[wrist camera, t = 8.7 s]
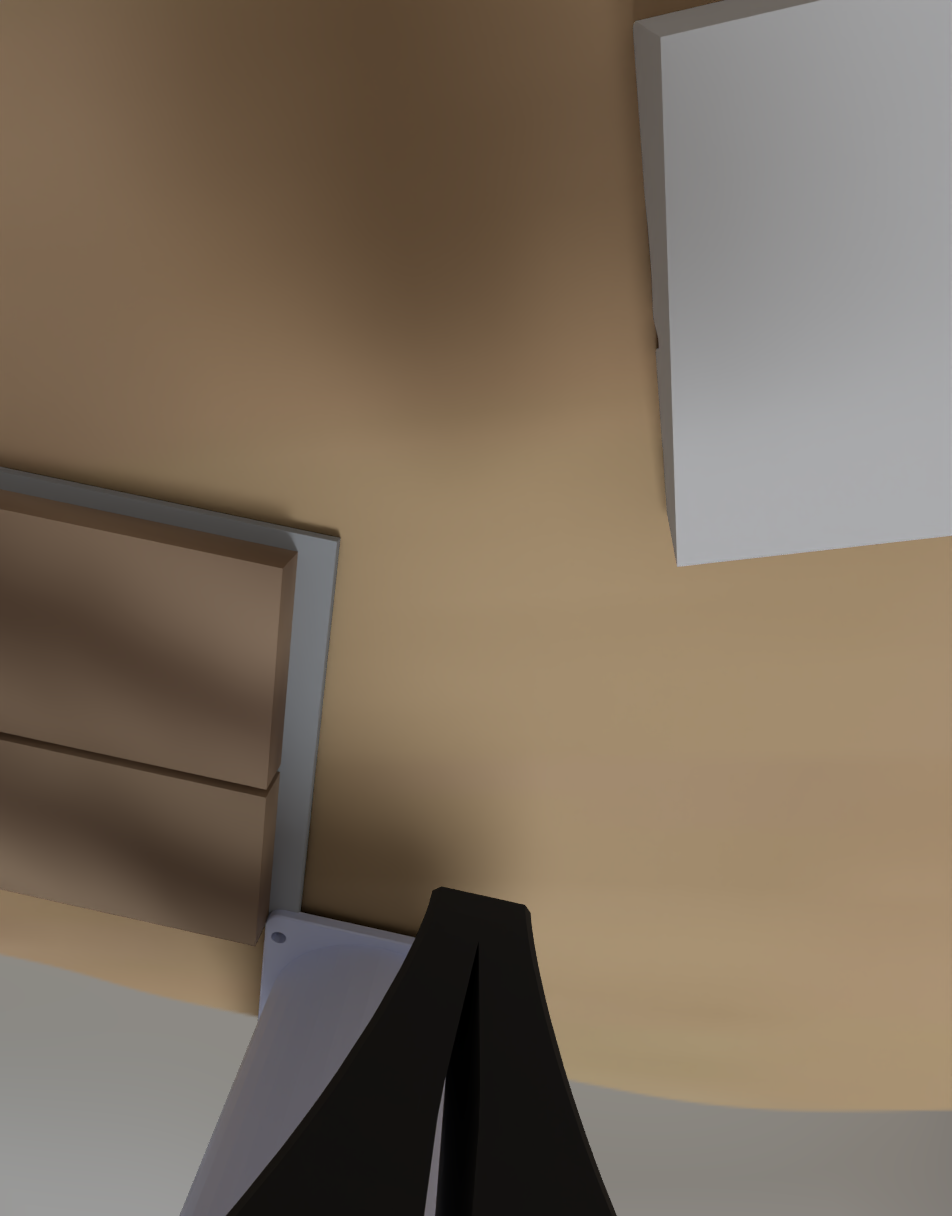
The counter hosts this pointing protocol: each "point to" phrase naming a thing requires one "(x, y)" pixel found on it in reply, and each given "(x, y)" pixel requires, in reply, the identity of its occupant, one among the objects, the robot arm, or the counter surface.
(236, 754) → the board
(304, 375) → the counter surface
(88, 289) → the counter surface
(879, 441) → the decorative molding
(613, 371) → the counter surface
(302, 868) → the plate
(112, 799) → the laid plank
